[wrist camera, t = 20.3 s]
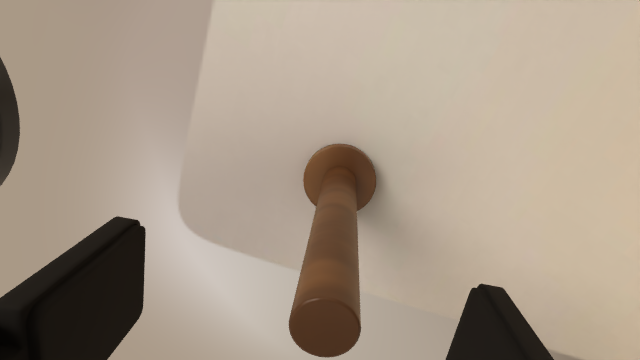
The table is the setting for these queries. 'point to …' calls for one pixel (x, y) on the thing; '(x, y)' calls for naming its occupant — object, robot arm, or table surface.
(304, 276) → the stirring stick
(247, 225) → the table surface
